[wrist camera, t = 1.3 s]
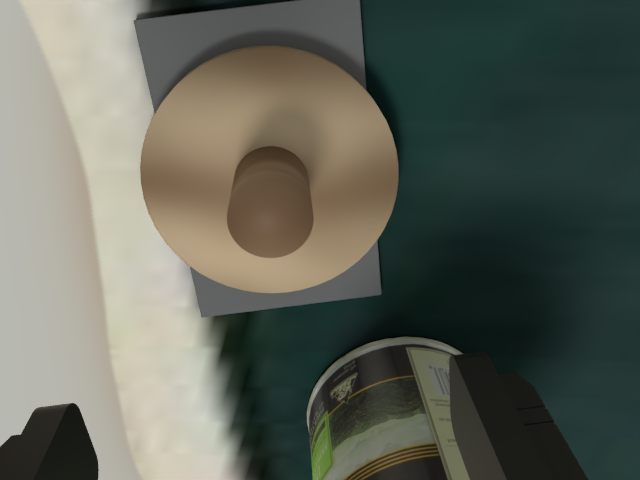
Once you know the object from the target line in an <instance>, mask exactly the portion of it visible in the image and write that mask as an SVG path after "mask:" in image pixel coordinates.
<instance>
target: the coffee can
mask: <svg viewBox="0 0 640 480" xmlns="http://www.w3.org/2000/svg"><path fill="white" fill-rule="evenodd" d="M459 354H463V353H461V352H460V351H458V350H457V349H455V348H453V347H451V346H449V345H447V344H444V343H442V342H439V341H436V340H432V339H427V338H420V337H407V336H404V337H397V338H387V339H382V340H378V341H374V342H371V343H368V344H365V345H363V346H361V347H358V348H356V349H354V350H352V351H351V352H349V353H347V354H346V355H344V356H342V357H341V358H340V359H338V360H337V361H336V362H334V363H333V364H332V365H331V366H330V367H329V368H328V369H327V370H326V371H325V373H324V374H323V375H322V376H321V378H320V379H319V380H318V382H317V384H316V385H315V387H314V389H313V391H312V394H311V396H310V400H309V404H308V409H307V425H308V429H309V434H310V447H311V461H312V475H313V480H470V478H469V476H468V473H467V470H466V467H465V465H464V462H463V459H462V456H461V454H460V451H459V448H458V445H457V443H456V440H455V436H454V432H453V428H452V422H451V414H450V376H449V359H450V356H451V355H459Z"/></svg>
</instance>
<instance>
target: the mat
mask: <svg viewBox="0 0 640 480" xmlns="http://www.w3.org/2000/svg"><path fill="white" fill-rule="evenodd" d="M134 24H135V29H136V33H137V38H138V42H139V46H140V51H141V55H142V59H143V64H144V68H145V72H146V77H147V81H148V85H149V90H150V94H151V98H152V103H153V107H154V112H155V113H156V111H157V110H158V108H159V106H160V105H161V103H162V102H163V100H164V99H165V98H166V97H167V95H168V94H169V93H170V92H171V90H172V89H173V88H174V87H175V85H176V84H177V83H178V82H179V81H180V80H182V79H183V78H184V77H185V76H186V75H187V74H188V73H189V72H191V71H192V70H193V69H195V68H196V67H198V66H199V65H201V64H202V63H204V62H206V61H208V60H210V59H212V58H214V57H216V56H218V55H220V54H223V53H226V52H229V51H232V50H235V49H240V48H245V47H250V46H263V45H275V46H287V47H292V48H297V49H301V50H305V51H308V52H311V53H314V54H316V55H319V56H322V57H323V58H325V59H327V60H329V61H331V62H333V63H335V64H337V65H338V66H339V67H341V68H342V69H344V70H345V71H346V72H348V73H349V74H351V75H352V76H353V77H354V78H355V79H356V80H357V81H358V82H359V83H360V84H361V85H362V86H363V87H364V88H365V89H366V78H365V64H364V51H363V37H362V24H361V10H360V0H293V1H285V2H277V3H268V4H260V5H252V6H244V7H235V8H227V9H219V10H210V11H202V12H194V13H186V14H177V15H169V16H161V17H153V18H144V19H136V20H134ZM190 268H191V273H192V277H193V281H194V286H195V290H196V294H197V299H198V303H199V308H200V312H201V316H202V317H208V316H216V315H224V314H232V313H240V312H248V311H256V310H264V309H272V308H280V307H288V306H296V305H304V304H312V303H320V302H328V301H336V300H344V299H352V298H360V297H368V296H376V295H381V281H380V268H379V254H378V241H376V242H375V243H374V245H373V246H372V247H371V248H370V250H369V251H368V252H367V253H366V254H365V255H364V256H363V257H362V258H361V259H360V260H359V261H358V262H356V263H355V264H354V265H353V266H351V267H350V268H349V269H347V270H346V271H345V272H343V273H341V274H339V275H338V276H336V277H334V278H333V279H331V280H328V281H326V282H324V283H321V284H319V285H316V286H313V287H310V288H306V289H303V290H298V291H292V292H285V293H257V292H250V291H244V290H240V289H236V288H232V287H229V286H226V285H223V284H221V283H218V282H216V281H214V280H211V279H210V278H208V277H206V276H204V275H202V274H201V273H199V272H197V271H196V270H195V269H193V268H192V267H190Z"/></svg>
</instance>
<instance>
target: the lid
mask: <svg viewBox="0 0 640 480" xmlns="http://www.w3.org/2000/svg"><path fill="white" fill-rule="evenodd" d="M140 169H141V185H142V190H143V196H144V200H145V203H146V206H147V209H148V212H149V215H150V217H151V219H152V221H153V223H154V225H155V227H156V229H157V230H158V232H159V233H160V235H161V236H162V238H163V240H164V241H165V242H166V243H167V245H168V246H169V247H170V248H171V249H172V250H173V252H174V253H175V254H176V255H177V256H179V257H180V258H181V259H182V260H183V261H184V262H185V263H186V264H188V265H189V266H190V267H192V268H193V269H195V270H196V271H197V272H199V273H201V274H202V275H204V276H206V277H208V278H210V279H211V280H214V281H216V282H218V283H221V284H223V285H226V286H229V287H232V288H236V289H240V290H244V291H250V292H257V293H285V292H292V291H298V290H303V289H306V288H310V287H313V286H316V285H319V284H321V283H324V282H326V281H328V280H331V279H333V278H334V277H336V276H338V275H339V274H341V273H343V272H345V271H346V270H347V269H349V268H350V267H351V266H353V265H354V264H355V263H356V262H358V261H359V260H360V259H361V258H362V257H363V256H364V255H365V254H366V253H367V252H368V251H369V250H370V248H371V247H372V246H373V245H374V243H375V242H376V241H377V240H378V238H379V236H380V235H381V233H382V231H383V230H384V228H385V226H386V224H387V222H388V220H389V217H390V215H391V213H392V210H393V206H394V203H395V199H396V194H397V188H398V159H397V151H396V147H395V143H394V139H393V136H392V133H391V131H390V128H389V126H388V124H387V121H386V119H385V117H384V116H383V114H382V112H381V111H380V109H379V107H378V106H377V104H376V103H375V101H374V100H373V98H372V97H371V96H370V94H369V93H368V92H367V91H366V89H365V88H364V87H363V86H362V85H361V84H360V83H359V82H358V81H357V80H356V79H355V78H354V77H353V76H352V75H351V74H349V73H348V72H346V71H345V70H344V69H342V68H341V67H339V66H338V65H337V64H335V63H333V62H331V61H329V60H327V59H325V58H323V57H322V56H319V55H316V54H314V53H311V52H308V51H305V50H301V49H297V48H292V47H287V46H275V45H263V46H250V47H245V48H240V49H235V50H232V51H229V52H226V53H223V54H220V55H218V56H216V57H214V58H212V59H210V60H208V61H206V62H204V63H202V64H201V65H199V66H198V67H196V68H195V69H193V70H192V71H191V72H189V73H188V74H187V75H186V76H185V77H184V78H183V79H182V80H180V81H179V82H178V83H177V84H176V85H175V87H174V88H173V89H172V90H171V92H170V93H169V94H168V95H167V97H166V98H165V99H164V100H163V102H162V103H161V105H160V106H159V108H158V110H157V111H156V113H155V115H154V116H153V118H152V121H151V123H150V125H149V128H148V130H147V133H146V136H145V140H144V144H143V148H142V155H141V165H140Z"/></svg>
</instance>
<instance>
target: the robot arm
mask: <svg viewBox="0 0 640 480" xmlns="http://www.w3.org/2000/svg"><path fill="white" fill-rule="evenodd" d="M449 376H450V414H451V422H452V428H453V432H454V436H455V440H456V443H457V445H458V448H459V451H460V454H461V456H462V459H463V462H464V465H465V467H466V470H467V473H468V476H469V478H470V480H588V478H587V477H586V475H585V473H584V471H583V470H582V468H581V466H580V465H579V463H578V461H577V460H576V458H575V456H574V454H573V453H572V451H571V449H570V448H569V446H568V444H567V442H566V441H565V439H564V437H563V436H562V434H561V432H560V431H559V429H558V427H557V425H555V424H554V420H553V419H552V417H551V415H550V413H549V412H548V410H547V409H545V405H544V403H543V402H542V400H541V398H540V396H539V395H538V393H537V391H536V390H535V388H534V387H533V386H532V385H531V384H530V383H528V382H527V381H526V380H524V379H523V378H522V377H520V376H519V375H518V374H517V373H515V372H511V373H503V374H498V373H497V371H496V369H495V367H494V365H493V363H492V361H491V359H490V357H489V356H488V354H487V353H486V352H485V351H482V352H474V353H467V354H459V355H451V356H450V359H449ZM0 480H98V461H97V456H96V453H95V450H94V447H93V445H92V442H91V439H90V437H89V434H88V431H87V428H86V426H85V423H84V420H83V418H82V415H81V412H80V410H79V408H78V406H77V405H76V404H74V403H71V404H62V405H55V406H48V407H39V408H37V409H35V410H34V412H33V413H32V415H31V417H30V419H29V421H28V422H27V424H26V426H25V428H24V430H23V432H22V434H21V435H14V436H11V437H10V438H9V439H8V440H7V441H6V442H5V443H4V444H3V445H2V446H1V447H0Z"/></svg>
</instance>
